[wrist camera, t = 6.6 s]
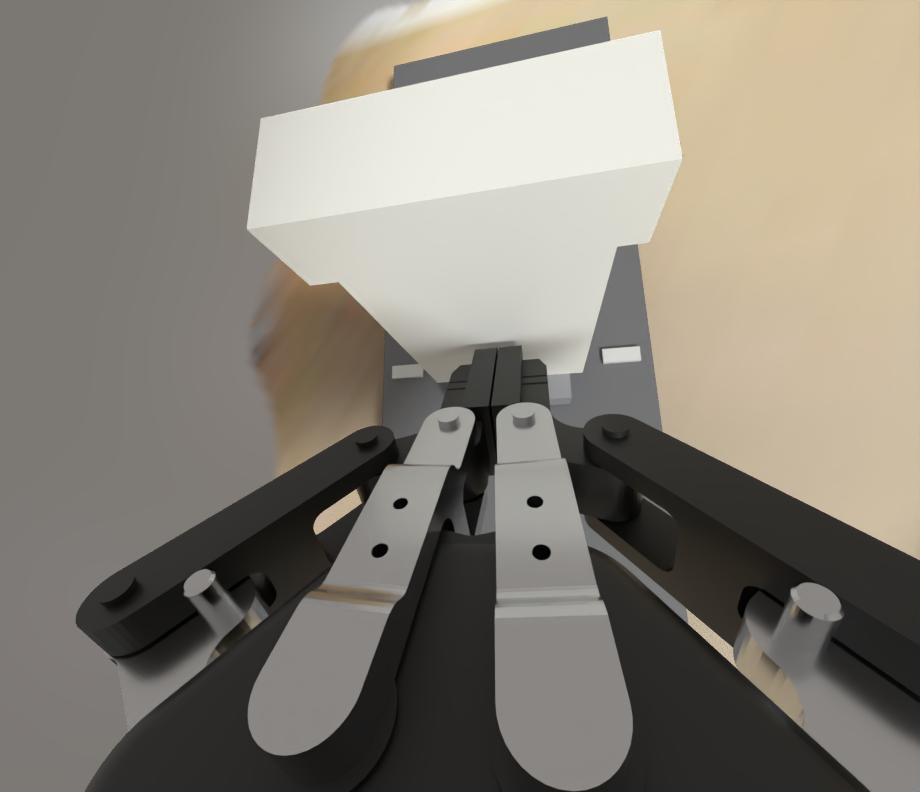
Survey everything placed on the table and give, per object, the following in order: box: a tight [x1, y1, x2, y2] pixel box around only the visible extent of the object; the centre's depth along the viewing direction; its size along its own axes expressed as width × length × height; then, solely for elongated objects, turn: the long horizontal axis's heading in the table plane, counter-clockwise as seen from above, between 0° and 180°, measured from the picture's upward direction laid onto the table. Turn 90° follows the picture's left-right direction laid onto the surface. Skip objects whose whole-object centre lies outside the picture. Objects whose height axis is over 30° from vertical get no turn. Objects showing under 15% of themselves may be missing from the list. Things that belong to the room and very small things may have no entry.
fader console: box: [382, 17, 688, 624], centre depth 20 cm, size 12×30×2 cm, turn 1°
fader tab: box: [247, 30, 683, 405], centre depth 13 cm, size 7×4×12 cm, turn 91°
